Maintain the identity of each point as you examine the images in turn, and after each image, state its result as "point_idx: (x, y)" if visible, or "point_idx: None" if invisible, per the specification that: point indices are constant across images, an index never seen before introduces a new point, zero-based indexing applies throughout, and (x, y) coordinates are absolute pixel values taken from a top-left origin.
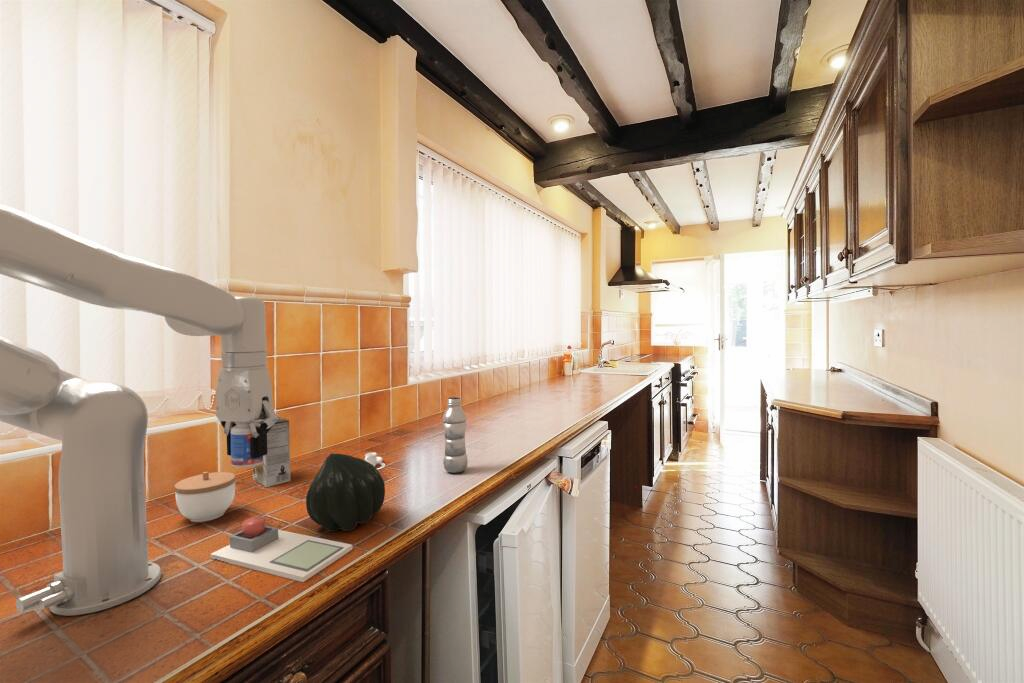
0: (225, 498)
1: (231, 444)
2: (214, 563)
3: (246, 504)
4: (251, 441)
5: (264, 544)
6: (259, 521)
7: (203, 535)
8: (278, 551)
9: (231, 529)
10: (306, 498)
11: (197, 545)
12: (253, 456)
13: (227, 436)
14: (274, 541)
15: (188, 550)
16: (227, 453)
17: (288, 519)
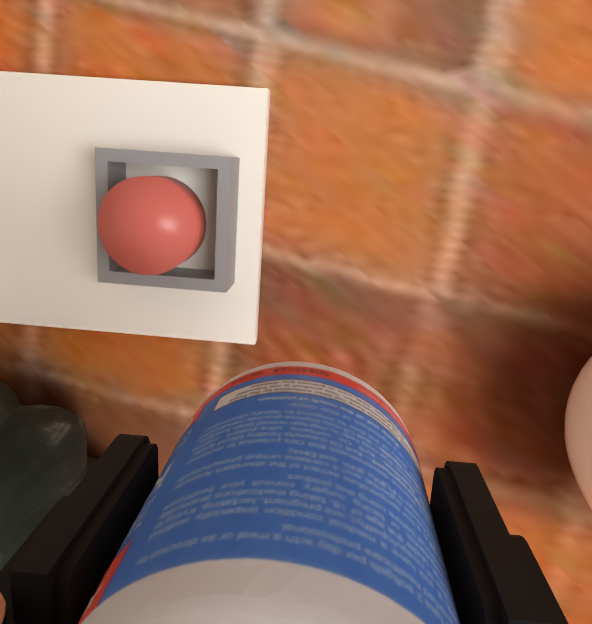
0: (571, 435)
1: (354, 479)
2: (220, 66)
3: (569, 527)
4: (51, 534)
5: None
6: (117, 231)
7: (489, 242)
8: (25, 187)
9: (417, 317)
10: (31, 442)
11: (431, 163)
12: (117, 444)
13: (522, 604)
14: None
15: (428, 118)
16: (473, 468)
17: None
